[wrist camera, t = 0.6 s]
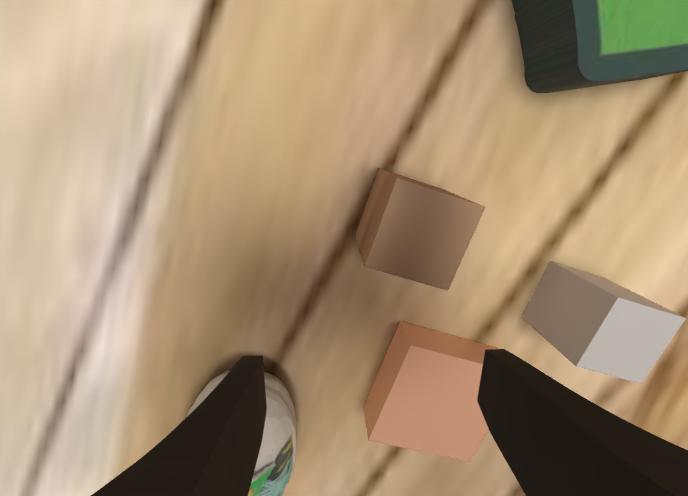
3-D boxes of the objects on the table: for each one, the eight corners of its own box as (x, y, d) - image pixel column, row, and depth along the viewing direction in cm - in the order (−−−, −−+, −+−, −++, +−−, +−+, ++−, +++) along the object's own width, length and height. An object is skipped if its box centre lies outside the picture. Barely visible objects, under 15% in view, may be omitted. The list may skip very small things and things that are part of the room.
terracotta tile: (494, 344, 23) (519, 374, 20) (452, 424, 25) (470, 461, 22) (399, 318, 22) (410, 345, 19) (362, 403, 24) (368, 440, 21)
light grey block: (605, 278, 21) (685, 318, 16) (573, 331, 22) (640, 383, 18) (550, 260, 21) (618, 297, 16) (520, 316, 22) (575, 366, 17)
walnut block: (444, 189, 19) (485, 207, 14) (418, 254, 20) (448, 290, 15) (378, 167, 18) (397, 177, 14) (354, 235, 19) (364, 266, 15)
